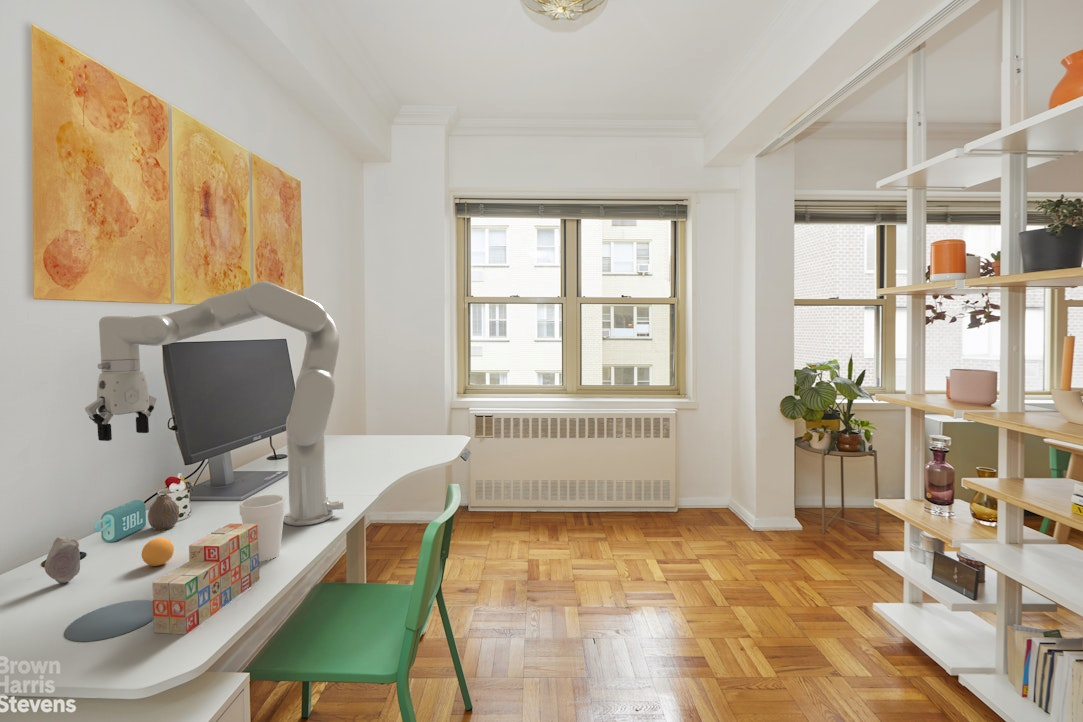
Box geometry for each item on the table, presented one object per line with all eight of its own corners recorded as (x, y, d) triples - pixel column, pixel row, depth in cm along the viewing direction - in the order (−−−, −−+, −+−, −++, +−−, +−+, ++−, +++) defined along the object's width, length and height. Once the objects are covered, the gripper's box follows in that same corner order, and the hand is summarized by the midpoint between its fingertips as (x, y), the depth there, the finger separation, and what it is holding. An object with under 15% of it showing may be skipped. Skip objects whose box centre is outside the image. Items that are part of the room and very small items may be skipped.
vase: (164, 533, 145) (162, 500, 144) (142, 531, 146) (140, 498, 145) (186, 523, 151) (184, 492, 151) (164, 522, 153) (163, 491, 152)
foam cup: (296, 550, 132) (294, 497, 132) (265, 566, 124) (262, 509, 123) (264, 545, 136) (262, 493, 135) (232, 561, 127) (230, 505, 126)
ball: (177, 557, 129) (176, 532, 129) (170, 568, 123) (168, 541, 123) (147, 561, 127) (146, 535, 127) (138, 572, 121) (136, 545, 121)
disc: (171, 595, 111) (171, 594, 110) (147, 632, 97) (147, 631, 97) (85, 608, 106) (85, 607, 106) (48, 648, 93) (48, 647, 93)
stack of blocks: (186, 635, 96) (183, 566, 96) (153, 634, 97) (149, 565, 96) (260, 579, 118) (258, 522, 117) (232, 578, 118) (229, 522, 118)
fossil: (48, 591, 113) (45, 543, 112) (41, 587, 115) (38, 540, 114) (83, 580, 118) (80, 534, 117) (76, 576, 119) (73, 531, 119)
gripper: (98, 369, 126) (102, 444, 127) (164, 364, 143) (168, 430, 144) (71, 369, 128) (76, 443, 129) (141, 364, 145) (144, 429, 146)
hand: (124, 436), depth 136 cm, fingers open, 9 cm apart
